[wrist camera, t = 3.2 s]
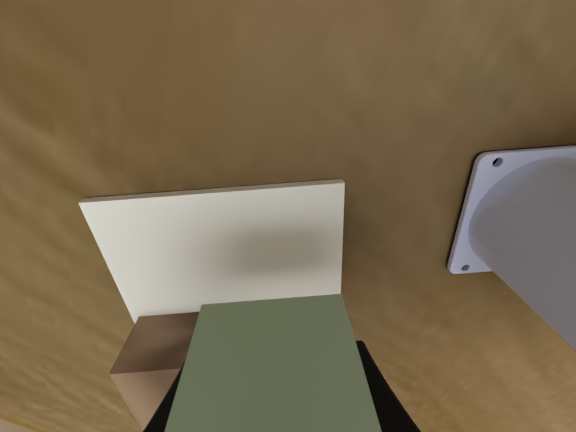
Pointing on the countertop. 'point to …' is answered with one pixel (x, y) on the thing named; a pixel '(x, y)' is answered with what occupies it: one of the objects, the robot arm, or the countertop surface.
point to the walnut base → (152, 361)
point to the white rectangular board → (221, 244)
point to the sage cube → (273, 370)
